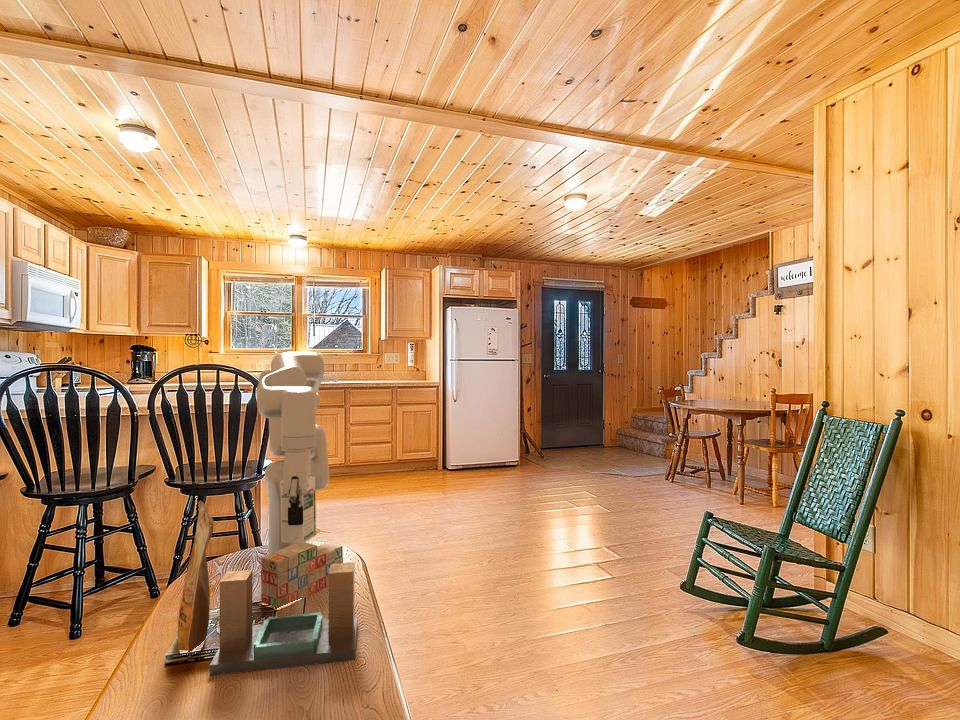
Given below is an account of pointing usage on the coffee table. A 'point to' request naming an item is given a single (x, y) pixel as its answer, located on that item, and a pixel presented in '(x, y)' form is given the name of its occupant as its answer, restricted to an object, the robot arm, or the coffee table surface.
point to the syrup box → (308, 528)
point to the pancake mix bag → (196, 588)
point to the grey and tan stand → (284, 628)
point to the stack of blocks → (297, 572)
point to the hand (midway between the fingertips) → (298, 518)
